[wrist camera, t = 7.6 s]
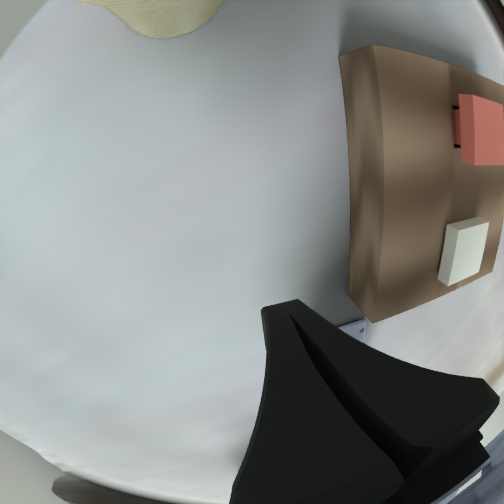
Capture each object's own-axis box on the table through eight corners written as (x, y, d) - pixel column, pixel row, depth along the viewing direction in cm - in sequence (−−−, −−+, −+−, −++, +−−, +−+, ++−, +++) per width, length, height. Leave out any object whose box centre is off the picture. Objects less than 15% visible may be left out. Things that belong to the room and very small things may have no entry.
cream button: (440, 247, 22) (478, 272, 18) (407, 257, 22) (447, 286, 17) (445, 201, 21) (489, 221, 16) (412, 207, 20) (458, 230, 15)
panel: (467, 255, 24) (492, 271, 21) (347, 295, 22) (372, 323, 19) (475, 85, 17) (506, 87, 13) (338, 56, 15) (372, 44, 11)
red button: (455, 152, 18) (503, 165, 13) (420, 151, 17) (474, 165, 13) (452, 100, 16) (503, 105, 11) (417, 93, 15) (472, 94, 11)
